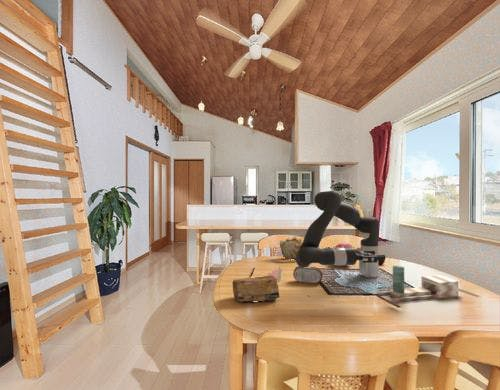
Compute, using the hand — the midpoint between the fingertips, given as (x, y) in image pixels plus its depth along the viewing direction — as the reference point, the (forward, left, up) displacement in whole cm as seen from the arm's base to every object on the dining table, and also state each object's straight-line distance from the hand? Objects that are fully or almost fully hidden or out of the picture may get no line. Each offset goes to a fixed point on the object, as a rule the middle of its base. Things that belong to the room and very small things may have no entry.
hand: (379, 255), depth 114 cm
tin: (-20, +30, -20) cm, 41 cm away
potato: (+42, +57, -20) cm, 73 cm away
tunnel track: (+23, -1, -20) cm, 30 cm away
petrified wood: (-52, +14, -20) cm, 58 cm away
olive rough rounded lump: (-10, +80, -20) cm, 83 cm away
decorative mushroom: (+18, +58, -20) cm, 64 cm away
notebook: (-37, +50, -20) cm, 65 cm away
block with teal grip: (+14, -1, -18) cm, 23 cm away
